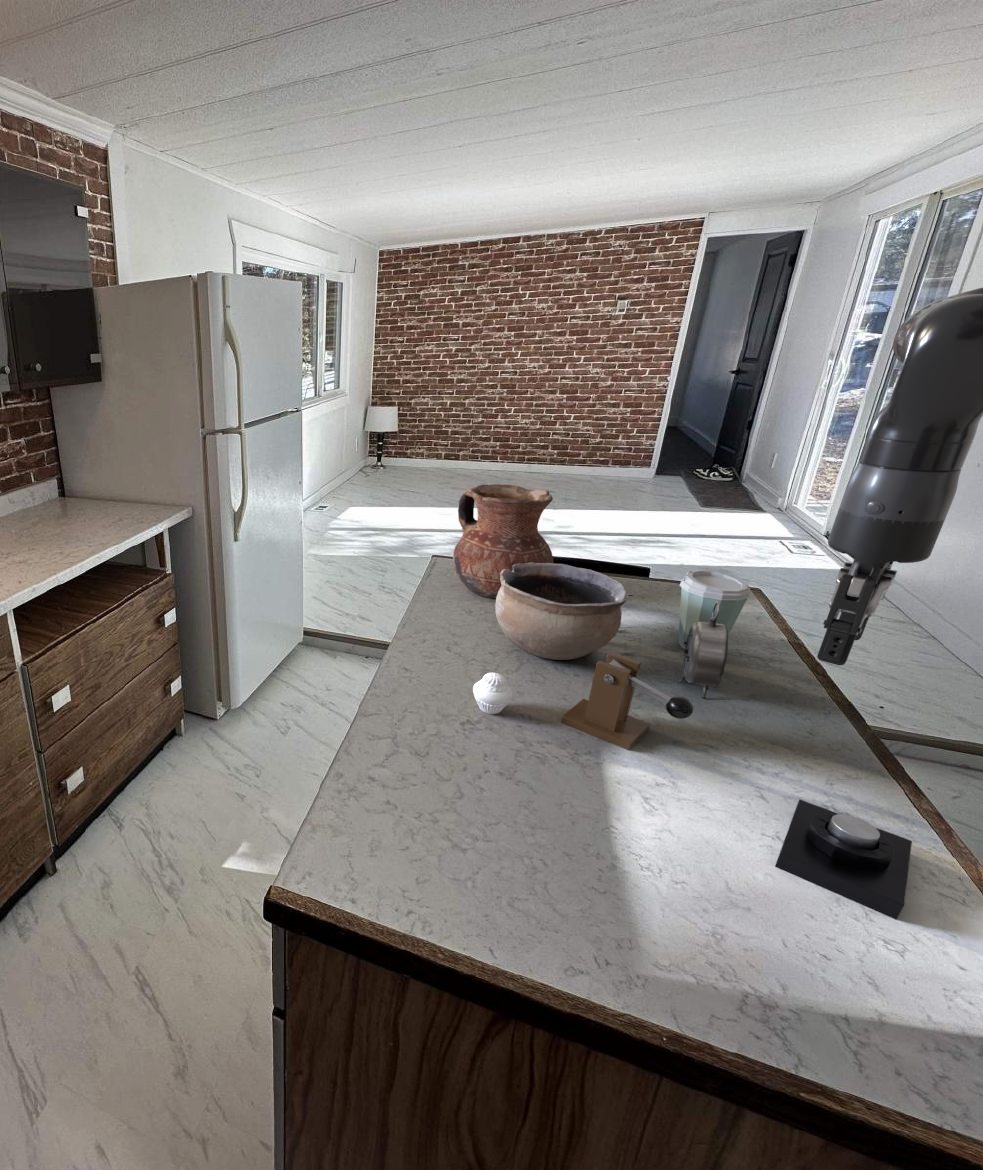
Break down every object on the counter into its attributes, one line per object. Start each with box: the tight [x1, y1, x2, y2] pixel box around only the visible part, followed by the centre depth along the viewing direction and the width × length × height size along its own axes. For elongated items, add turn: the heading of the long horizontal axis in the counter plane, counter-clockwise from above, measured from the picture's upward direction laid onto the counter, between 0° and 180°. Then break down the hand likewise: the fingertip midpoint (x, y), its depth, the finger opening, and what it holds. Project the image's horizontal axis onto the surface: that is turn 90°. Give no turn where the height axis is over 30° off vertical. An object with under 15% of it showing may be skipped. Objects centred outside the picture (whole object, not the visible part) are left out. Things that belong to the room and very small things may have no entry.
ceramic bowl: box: [494, 562, 630, 661], centre depth 122 cm, size 22×22×15 cm
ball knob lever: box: [609, 660, 694, 720], centre depth 94 cm, size 12×3×3 cm, turn 39°
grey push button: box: [827, 813, 880, 850], centre depth 73 cm, size 4×4×2 cm
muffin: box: [472, 672, 513, 715], centre depth 105 cm, size 6×6×7 cm
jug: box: [452, 483, 554, 599], centre depth 149 cm, size 22×21×25 cm
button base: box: [774, 799, 913, 920], centre depth 74 cm, size 13×10×4 cm
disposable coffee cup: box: [678, 568, 751, 650], centre depth 120 cm, size 11×11×15 cm
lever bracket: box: [560, 652, 651, 751], centre depth 98 cm, size 10×8×12 cm
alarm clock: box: [678, 602, 729, 699], centre depth 107 cm, size 11×5×16 cm, turn 147°
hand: (838, 649), depth 69 cm, fingers open, 8 cm apart
